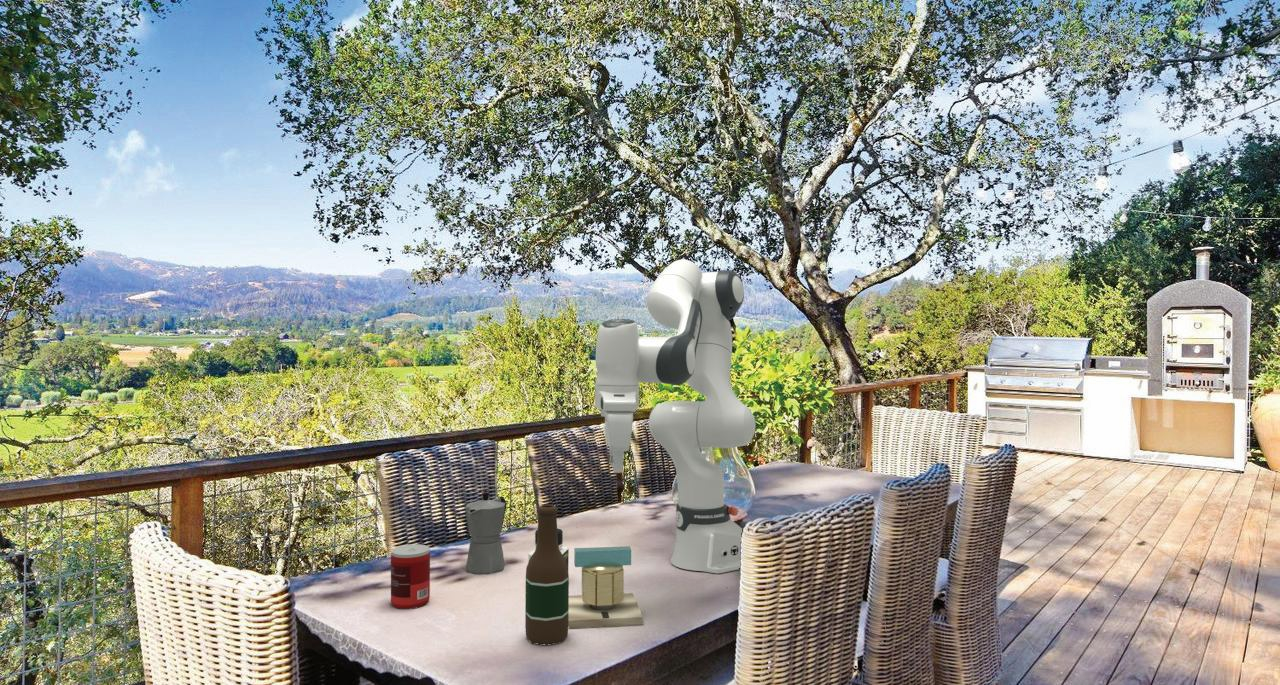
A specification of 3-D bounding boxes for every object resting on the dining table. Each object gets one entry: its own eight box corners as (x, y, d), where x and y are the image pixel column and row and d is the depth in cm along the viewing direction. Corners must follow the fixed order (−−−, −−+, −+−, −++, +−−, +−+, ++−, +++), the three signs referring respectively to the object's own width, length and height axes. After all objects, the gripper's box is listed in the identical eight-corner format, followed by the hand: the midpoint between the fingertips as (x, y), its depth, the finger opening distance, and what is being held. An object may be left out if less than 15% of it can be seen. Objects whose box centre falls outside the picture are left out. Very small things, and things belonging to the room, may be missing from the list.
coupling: (573, 593, 160) (573, 544, 159) (627, 590, 161) (627, 542, 161) (575, 606, 152) (576, 555, 151) (632, 604, 153) (633, 553, 153)
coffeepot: (487, 579, 178) (488, 499, 178) (452, 574, 181) (452, 495, 181) (521, 560, 192) (522, 486, 192) (488, 556, 195) (488, 483, 195)
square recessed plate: (564, 603, 162) (565, 571, 162) (632, 600, 164) (632, 568, 164) (568, 628, 148) (569, 593, 148) (642, 624, 151) (643, 590, 150)
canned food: (431, 595, 167) (431, 543, 167) (427, 608, 159) (428, 553, 159) (393, 597, 165) (393, 544, 165) (388, 610, 158) (388, 555, 157)
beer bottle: (568, 645, 140) (568, 510, 140) (523, 646, 140) (524, 511, 140) (568, 629, 148) (569, 501, 148) (526, 630, 148) (527, 501, 147)
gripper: (598, 396, 169) (597, 461, 169) (604, 402, 149) (602, 476, 149) (628, 396, 170) (627, 461, 170) (637, 403, 149) (636, 476, 149)
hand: (615, 468), depth 159 cm, fingers open, 8 cm apart
